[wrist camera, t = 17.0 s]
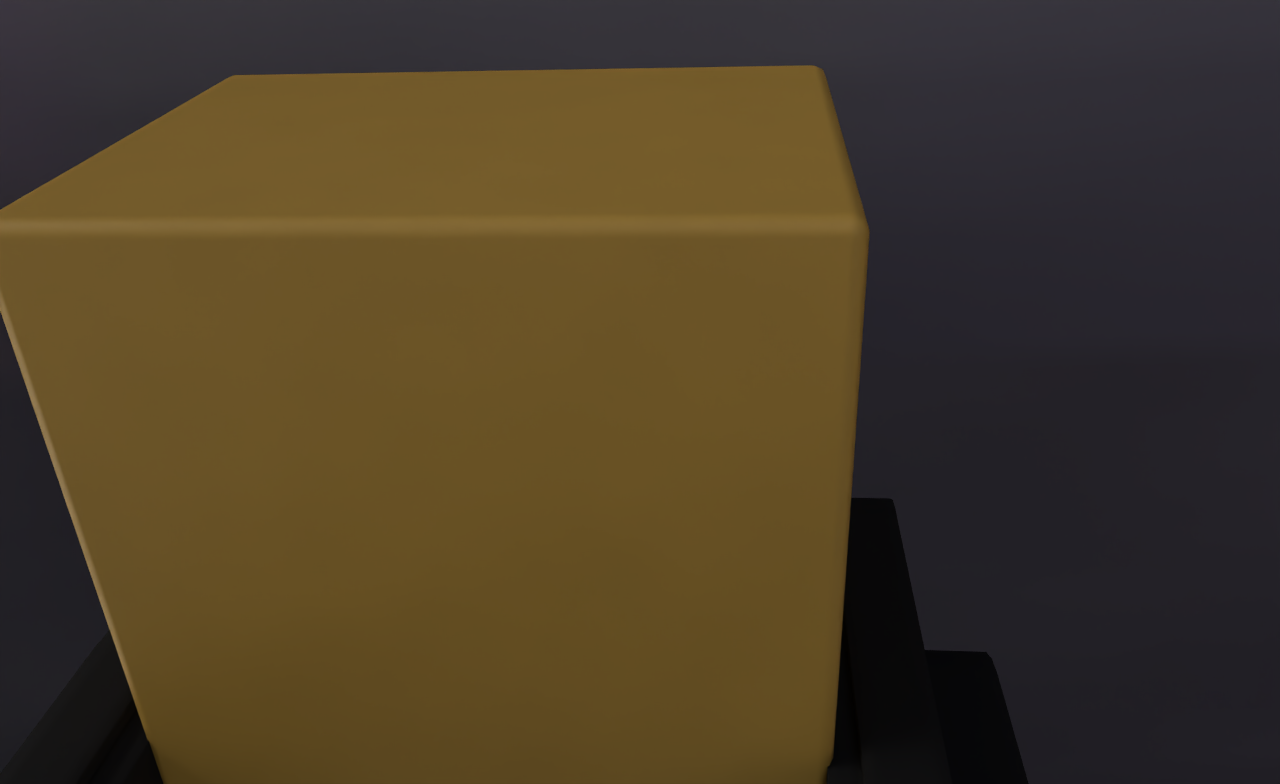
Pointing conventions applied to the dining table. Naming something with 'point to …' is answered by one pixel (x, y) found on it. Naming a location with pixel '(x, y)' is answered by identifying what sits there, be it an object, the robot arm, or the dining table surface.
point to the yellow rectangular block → (461, 421)
